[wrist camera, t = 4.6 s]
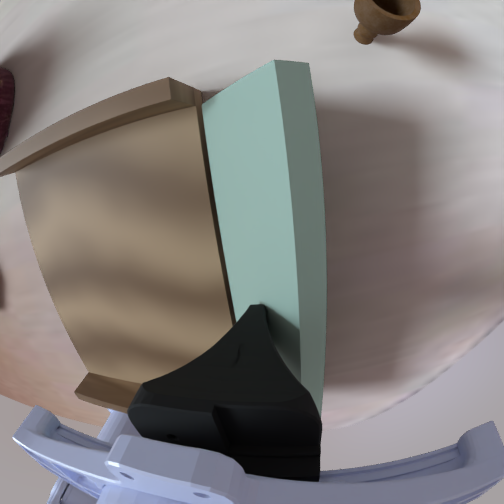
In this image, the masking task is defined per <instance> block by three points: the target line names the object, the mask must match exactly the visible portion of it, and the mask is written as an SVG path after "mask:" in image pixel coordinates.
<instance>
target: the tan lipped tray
mask: <svg viewBox="0 0 504 504" xmlns="http://www.w3.org/2000/svg"><path fill="white" fill-rule="evenodd" d="M202 104H203V103H202V95H201V91H200V90H197V89H195V88H193V87H191V86H188V85H186V84H184V83H181V82H179V81H177V80H174V79H172V78H170V77H167V78H164V79H161V80H157V81H154V82H151V83H148V84H145V85H142V86H139V87H136V88H133V89H131V90H128V91H125V92H123V93H120V94H117V95H115V96H112V97H110V98H107V99H105V100H103V101H100V102H98V103H96V104H93V105H91V106H89V107H87V108H85V109H82V110H80V111H78V112H76V113H74V114H72V115H70V116H68V117H66V118H64V119H62V120H60V121H58V122H57V123H55V124H53V125H51V126H49V127H47V128H46V129H44V130H42V131H40V132H39V133H37V134H35V135H34V136H32V137H30V138H29V139H27V140H25V141H24V142H22V143H21V144H19V145H18V146H16V147H14V148H13V149H11V150H10V151H8V152H7V153H6V154H4V155H3V156H1V157H0V177H1V176H4V175H8V174H11V173H14V172H15V173H16V179H17V185H18V190H19V195H20V200H21V204H22V209H23V213H24V217H25V221H26V225H27V228H28V232H29V236H30V239H31V242H32V246H33V249H34V252H35V255H36V258H37V261H38V264H39V267H40V270H41V272H42V275H43V278H44V281H45V283H46V286H47V288H48V291H49V293H50V296H51V298H52V300H53V303H54V305H55V307H56V310H57V312H58V314H59V316H60V318H61V321H62V323H63V325H64V327H65V329H66V331H67V333H68V335H69V337H70V339H71V341H72V343H73V345H74V347H75V348H76V350H77V352H78V354H79V356H80V358H81V359H82V361H83V363H84V365H85V366H86V368H87V370H88V371H89V373H88V374H87V375H86V377H85V378H84V379H83V381H82V382H81V383H80V385H79V386H78V387H77V389H76V390H75V392H74V393H75V394H76V395H77V397H78V398H79V399H81V400H83V401H86V402H89V403H92V404H95V405H99V406H102V407H105V408H108V409H112V410H115V411H119V412H122V413H126V414H127V410H128V408H129V406H130V404H131V402H132V400H133V398H134V396H135V395H136V393H137V391H138V389H139V388H140V386H141V385H142V383H144V382H147V381H150V380H152V379H155V378H158V377H161V376H163V375H165V374H168V373H170V372H172V371H174V370H176V369H178V368H180V367H182V366H184V365H186V364H187V363H189V362H191V361H192V360H194V359H195V358H197V357H198V356H200V355H202V354H203V353H204V352H206V351H207V350H208V349H210V348H211V347H212V346H213V345H214V344H216V343H217V342H218V341H219V340H220V339H221V338H222V337H223V336H224V335H225V334H226V333H227V332H228V331H229V330H230V329H231V328H232V327H233V326H234V324H235V323H236V317H235V312H234V306H233V301H232V296H231V290H230V285H229V279H228V273H227V268H226V262H225V256H224V250H223V245H222V239H221V233H220V227H219V221H218V214H217V208H216V202H215V196H214V189H213V183H212V176H211V169H210V163H209V156H208V149H207V142H206V135H205V127H204V120H203V113H202Z"/></svg>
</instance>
